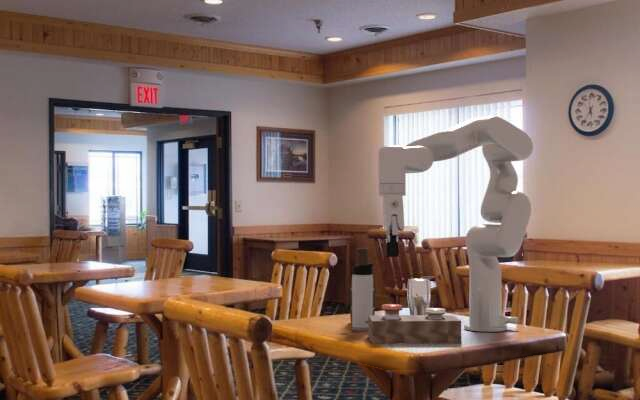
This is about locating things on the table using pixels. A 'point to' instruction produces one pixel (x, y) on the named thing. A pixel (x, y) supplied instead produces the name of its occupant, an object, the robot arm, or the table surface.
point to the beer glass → (418, 296)
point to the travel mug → (362, 296)
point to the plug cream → (435, 313)
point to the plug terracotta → (391, 311)
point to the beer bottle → (361, 260)
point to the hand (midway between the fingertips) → (392, 256)
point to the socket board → (414, 329)
